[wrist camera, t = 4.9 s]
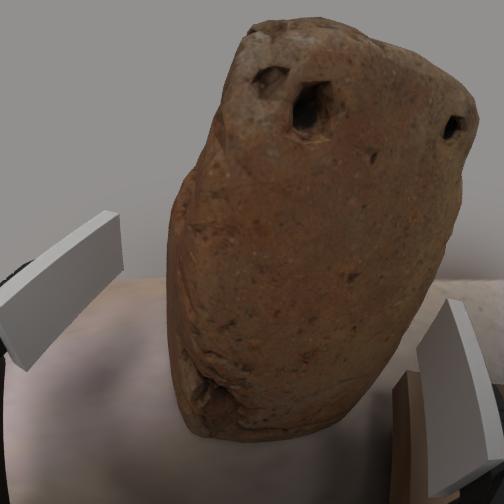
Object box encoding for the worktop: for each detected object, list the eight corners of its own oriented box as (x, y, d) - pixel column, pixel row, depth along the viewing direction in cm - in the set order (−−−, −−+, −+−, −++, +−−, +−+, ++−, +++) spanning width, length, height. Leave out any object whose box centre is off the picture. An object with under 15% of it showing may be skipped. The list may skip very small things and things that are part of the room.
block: (314, 349, 23) (399, 70, 13) (352, 431, 17) (517, 99, 7) (170, 361, 21) (180, 24, 10) (179, 460, 14) (184, -28, 4)
